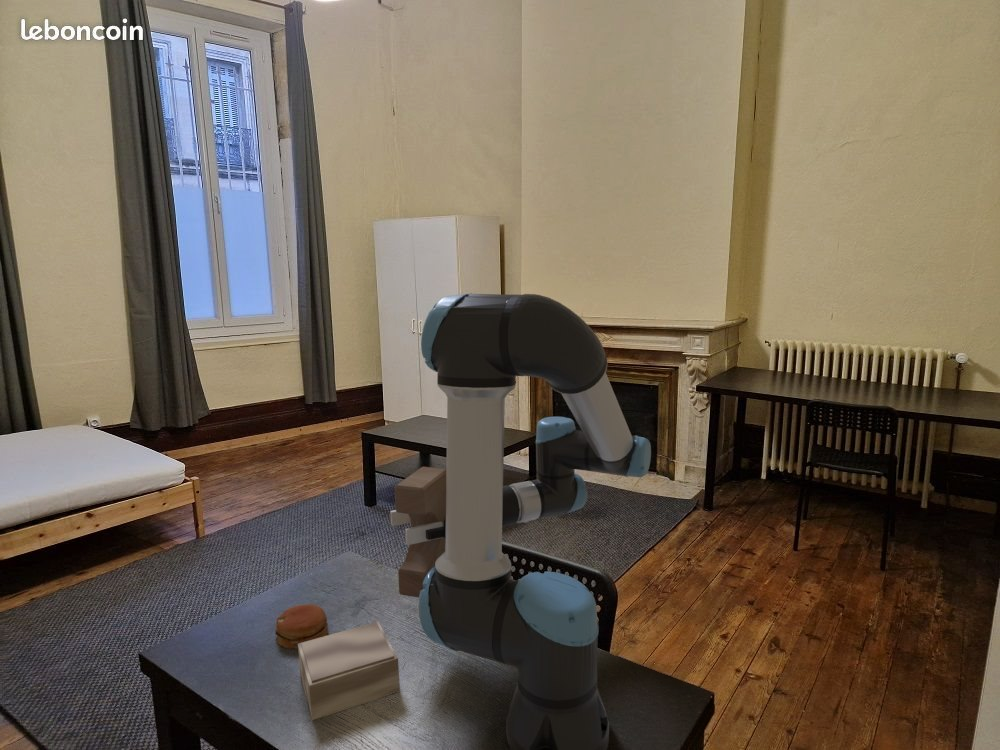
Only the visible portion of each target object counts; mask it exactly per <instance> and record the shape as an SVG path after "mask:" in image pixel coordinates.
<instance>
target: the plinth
mask: <svg viewBox="0 0 1000 750" xmlns="http://www.w3.org/2000/svg"><path fill="white" fill-rule="evenodd" d="M297 651H298V660H299V661H298V662H299V672H300V680H301V681H302V686H303V690H304V694H305V698H306V702H307V706H308V709H309V712H310V713H309V714H310V716H311V720H312V721H315V720H318V719H320V718H321V719H322V718H324V717H327V716H329V715H333V714H335V713H338V712H341V711H345V710H348V709H351V708H354V707H358V706H360V705H363V704H366V703H369V702H371V701H374V700H375V701H376V700H377V699H380V698H384V697H387V696H389V695H388V694H390V695H392V694H391V693H393V694H395V693H394V692H396V693H399V692H401V688H400V670H399V669H400V668H399V667H400V666H399V658H398V655H397V654H396V651H395V650H394V649H393V646H392V645H391V643H390V641H389V639H388V636H387V635H386V632H385V631H384V629H383V628H382V626H381V624H380V621H375V622H371V623H368V624H364V625H361V626H357V627H353V628H350V629H346V630H345V629H344V630H343V631H340V632H339V631H338V632H335V633H331V634H328V635H326V636H324V637H320V638H316V639H313V640H309V641H306V642H302V643H298V648H297ZM398 691H399V692H398ZM386 695H387V696H386Z"/></svg>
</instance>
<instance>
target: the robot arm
mask: <svg viewBox="0 0 1000 750" xmlns="http://www.w3.org/2000/svg"><path fill="white" fill-rule="evenodd" d="M420 343H421V344H420V345H421V347H420V350H421V355H422V357H423V359H424V364H426V366H427V367H428V368H429V369H431V370H432V371H433V372H436V373H437V374H436V375H437V380H436V381H437V382H436V383H437V387H438V388H439V389H440V390H441V391H442V392H443V393H444V394H445V395H446V399H447V403H446V404H447V405H446V411H447V412H446V416H447V417H446V468H445V469H446V520H445V519H444V526H443V523H442V522H436V523H431V524H426V525H421V526H416V527H408V528H404V530H405V545H406V546H409V545H411V544H416V543H420V542H425V541H430V540H434V539H439V538H443V537H444V538H446V540H445V552H444V553H443V554H442V555H441V556H440V557H439V558H438V559H437V560H436V562H435V567H433V568H432V569H431V570H430V571H429V572H428V574H427V575H426V577H425V579H424V581H423V590H421V591H420V595H419V598H418V616H419V620H420V621H419V622H420V624H421V627H422V628H421V629H422V630H423V632H424V633H425V635H426V636H427V638H428V639H429V640H431V641H432V642H433V643H436V644H438V645H441V646H444V647H445V648H447V649H448V650H451V651H455V652H459V651H460V652H463V653H466V654H470V655H473V656H477V657H479V658H483V659H487V660H490V661H494V662H497V663H500V664H504V665H507V666H509V667H513V668H516V679H517V680H516V683H517V684H516V687H515V690H514V693H513V696H512V699H511V703H510V705H509V708H508V710H507V713H506V714H507V715H506V720H505V722H506V723H505V726H506V727H505V728H506V729H505V731H506V732H505V733H506V741H507V744H508V746H509V748H510V750H607V749H608V747H609V742H610V722H609V717H608V714H607V712H606V708H605V706H604V703H603V700H602V697H601V695H600V692H599V688H598V636H599V632H600V631H599V629H600V628H599V626H600V625H599V620H598V615H597V614H598V612H597V609H598V608H597V602H596V599H595V597H594V595H593V594H592V593H591V592H590V590H589V589H588V587H587V586H585V584H583V582H580V581H579V580H577V579H576V578H574V577H572V576H570V575H567V574H564V573H561V572H560V573H559V572H555V571H544V573H541V572H540V571H534V572H530V573H528V574H526V575H524V576H522V577H521V578H520V579H519V580H515V579H513V578H512V562H511V559H510V558H509V557H508V556H507V555H506V554H505V553H503V551H502V550H503V549H502V548H503V547H502V546H503V545H502V544H503V528H505V527H508V526H509V527H510V526H513V525H516V524H521V523H523V524H527V523H528V522H530V521H535V520H539V519H543V518H548V517H554V516H559V515H566V514H569V513H573V512H575V511H578V510H580V509H582V508H583V507H584V506H585V505H586V502H587V500H588V490H587V488H586V482H585V480H584V479H583V477H582V476H581V475H580V474H578V473H576V472H575V470H577V471H579V470H580V471H586V472H593V473H600V474H605V475H606V474H608V475H615V476H620V477H621V476H622V477H625V478H627V477H632V478H634V477H635V478H644V477H645V476H646V475H647V474H648V472H649V469H650V465H651V459H652V458H651V457H652V449H651V448H652V445H651V442H650V440H649V439H648V438H646V437H642V436H638V435H637V434H636V435H633V434H632V433H631V431H630V429H629V425H628V424H627V421H626V418H625V416H624V413H623V412H622V409H621V407H620V404H619V401H618V398H617V397H616V394H615V392H614V390H613V387H612V385H611V383H610V379H609V377H608V375H607V373H606V372H607V369H608V357H607V354H606V351H605V348H604V346H603V343H602V342H601V340H600V339H599V337H598V336H597V334H596V333H595V331H594V330H593V329H592V328H591V327H590V326H589V325H588V323H586V321H584V319H582V318H581V317H580V316H579V315H578V314H577V313H575V312H574V311H573V310H572V309H570V308H569V307H567V306H566V305H564V304H562V303H561V302H559V301H558V300H556V299H552V298H551V297H548V296H544V295H541V294H535V293H523V294H495V293H494V294H492V293H491V294H490V293H489V294H487V293H470V292H469V293H465V294H464V293H463V294H454V295H448V296H445V297H443V298H440V299H439V300H438V301H437V302H436V303H435V304H434V305H433V307H432V309H430V311H429V312H428V313H427V316H426V319H425V321H424V324H423V327H422V331H421V339H420ZM516 377H532V378H538V379H541V380H544V381H546V383H547V384H548V386H549V387H550V388H551V389H552V390H554V391H555V392H557V393H560V394H561V395H562V398H563V400H564V401H565V402H566V405H567V406H568V409H569V410H570V412H571V413H572V415H573V417H574V419H575V421H576V422H577V424H578V426H579V428H580V430H577V429H576V425H575V421H574V420H573V419H572V418H570V417H565V416H548V417H543V418H542V419H539V421H537V424H536V435H535V437H536V438H535V453H536V454H535V458H536V479H533V480H527V481H520V482H515V483H511V484H509V485H504V459H505V458H504V457H505V456H504V455H505V454H504V453H505V451H504V450H505V415H506V414H505V412H506V411H505V407H506V405H505V404H506V402H505V401H506V398H507V396H508V395H509V394H510V393H511V392H512V391H513V390H514V389H515V387H516ZM389 511H390V512H389V514H390V515H389V516H390V526H391V527H395V526H399V525H400V526H401V525H404V524H411V519H410V517H409V515H408V514H406V513H398V512H397V511H396V509H393V510H389Z"/></svg>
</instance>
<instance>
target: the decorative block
mask: <svg viewBox="0 0 1000 750" xmlns="http://www.w3.org/2000/svg"><path fill="white" fill-rule="evenodd" d="M394 499H395V500H394V504H395V505H394V506H395V509H394V510H396V511H397V512H398V513H406V514H408V515H409V517H410V519H411V523H410V526H411V527H416V526H421V525H426V524H431V523H436V522H442V523H443V526H444V519H445V520H446V468H439V467H430V466H422V467H420V468H419V469H417V470H416V471H414V472H413V473H411V474H410V475H409V476H407V477H406V478H404V479H403V480H401V481H400V482H399V483H397V484H396V485H395V486H394ZM411 527H410V528H411ZM445 540H446V538H444V537H443V538H439V539H434V540H430V541H425V542H420V543H416V544H411V545H408V550H407V553H406V555H405V558H404V560H403V562H402V564H401V565H400V567H399V568H398V570H397V574H398V576H397V577H398V578H397V579H398V593H399V594H400V595H402V596H407V597H414V598H418V599H419V595H420V591H421V590H423V581H424V579H425V577H426V575H427V574H428V572H429V571H430V570H431V569H432V568H433V567H435V562H436V560H437V559H438V558H439V557H440V556H441V555H442V554H443V553H444V552H445Z"/></svg>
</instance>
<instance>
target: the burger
mask: <svg viewBox="0 0 1000 750" xmlns="http://www.w3.org/2000/svg"><path fill="white" fill-rule="evenodd" d="M275 623H276V626H275V629H274V631H275V632H274V633H275V635H276V642H277V644H278V645H279V646H280V647H282V648H285V649H298V643H302V642H306V641H309V640H313V639H316V638H320V637H324V636H327V634H328V633H329V627H328V626H329V624H328V620H327V614H326V611H325V610H324V608H322V607H321V606H319V605H316V604H299V605H294V606H292V607H290V608H288V609H286V610H285V611H284V612H283V613H282V614H280V615H279V616H278V617H277V619H276V622H275Z"/></svg>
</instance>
